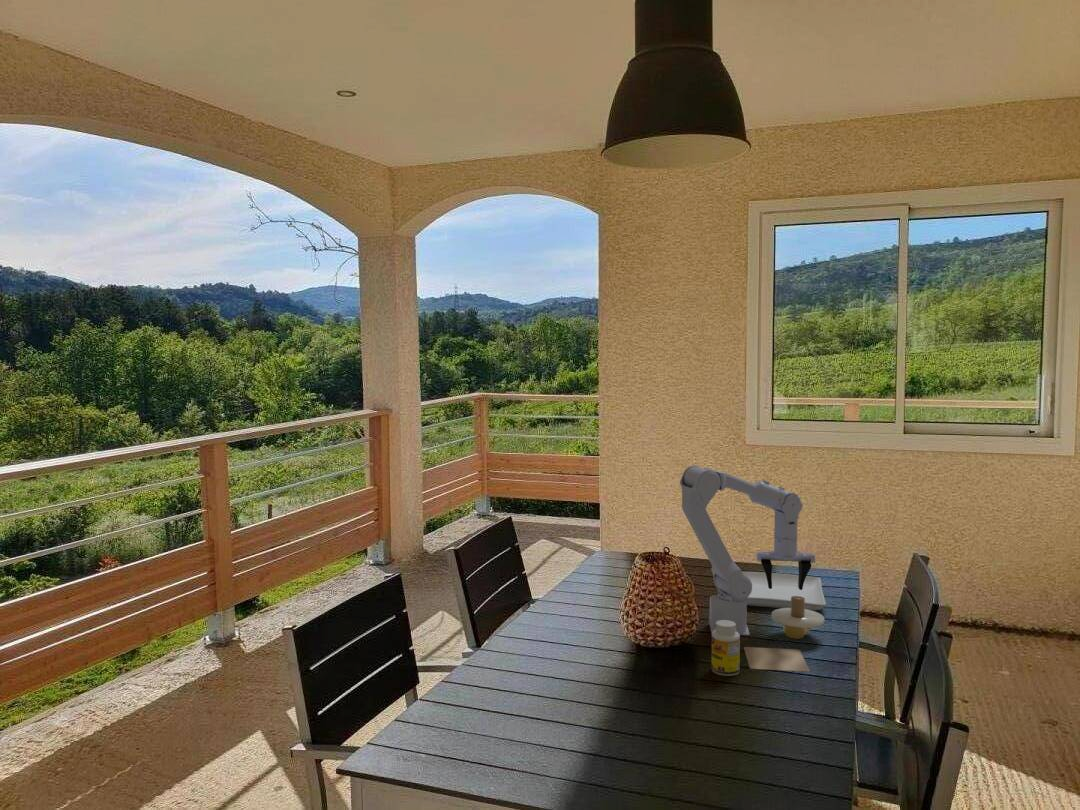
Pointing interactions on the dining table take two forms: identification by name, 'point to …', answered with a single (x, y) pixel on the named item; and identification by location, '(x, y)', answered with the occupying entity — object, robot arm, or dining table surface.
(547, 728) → the dining table surface
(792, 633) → the cup
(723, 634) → the supplement bottle
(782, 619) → the lid
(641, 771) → the dining table surface
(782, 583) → the square plate
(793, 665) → the mat
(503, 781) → the dining table surface
